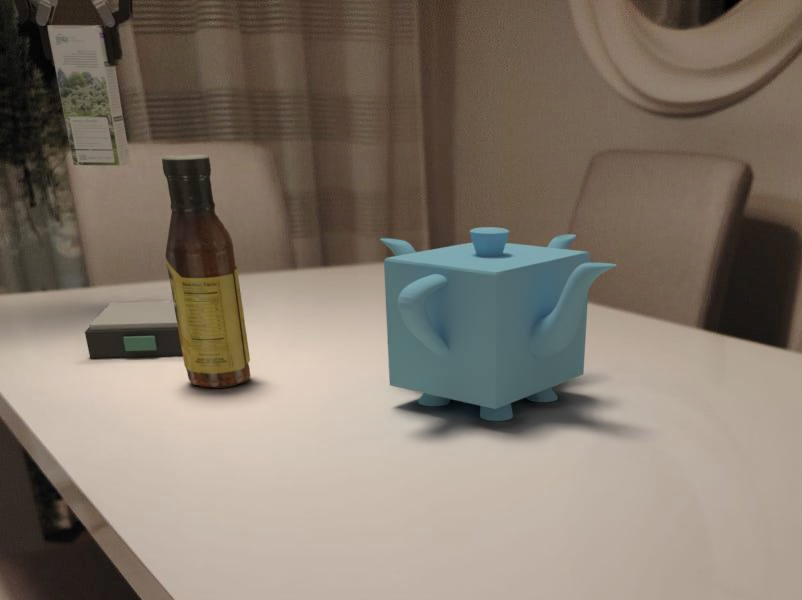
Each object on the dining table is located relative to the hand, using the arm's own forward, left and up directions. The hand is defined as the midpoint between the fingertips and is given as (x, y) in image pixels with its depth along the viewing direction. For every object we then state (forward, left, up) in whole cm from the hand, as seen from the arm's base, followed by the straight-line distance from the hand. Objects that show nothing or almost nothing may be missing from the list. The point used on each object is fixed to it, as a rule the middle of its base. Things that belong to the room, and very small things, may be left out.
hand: (85, 64), depth 111 cm
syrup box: (0, 0, -11) cm, 11 cm away
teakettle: (+41, -49, -27) cm, 70 cm away
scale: (+6, -22, -27) cm, 36 cm away
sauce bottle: (+15, -40, -27) cm, 51 cm away
